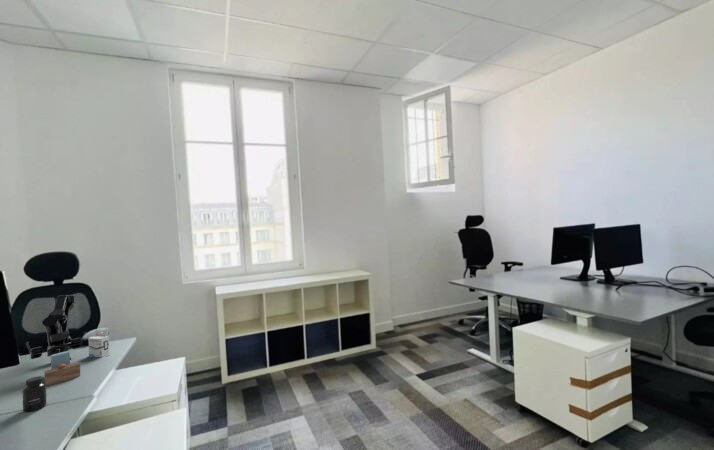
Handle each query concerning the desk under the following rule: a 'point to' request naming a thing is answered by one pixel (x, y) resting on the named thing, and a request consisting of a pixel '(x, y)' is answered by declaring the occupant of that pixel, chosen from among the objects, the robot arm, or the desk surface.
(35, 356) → the robot arm
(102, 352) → the ink box
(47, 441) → the desk surface
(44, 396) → the supplement bottle
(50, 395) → the desk surface
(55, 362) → the blue white block
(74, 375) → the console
